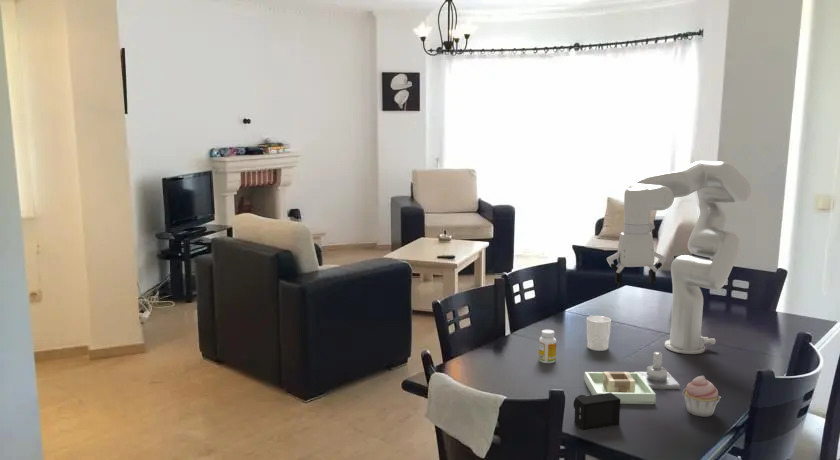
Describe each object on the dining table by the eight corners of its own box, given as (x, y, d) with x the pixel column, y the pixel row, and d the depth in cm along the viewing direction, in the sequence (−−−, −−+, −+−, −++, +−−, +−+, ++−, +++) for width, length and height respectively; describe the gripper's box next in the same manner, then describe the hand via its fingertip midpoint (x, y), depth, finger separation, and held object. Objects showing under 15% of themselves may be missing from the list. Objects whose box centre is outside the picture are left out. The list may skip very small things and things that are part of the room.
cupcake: (727, 418, 169) (730, 381, 168) (695, 421, 167) (697, 384, 166) (704, 403, 178) (707, 367, 177) (673, 406, 176) (676, 370, 175)
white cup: (610, 352, 218) (612, 323, 217) (586, 350, 220) (587, 321, 218) (608, 344, 226) (610, 316, 224) (585, 343, 227) (586, 315, 226)
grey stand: (667, 375, 198) (669, 347, 196) (679, 389, 188) (681, 359, 186) (634, 375, 198) (635, 347, 196) (644, 388, 188) (645, 359, 187)
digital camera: (607, 416, 171) (608, 390, 170) (619, 425, 166) (620, 398, 165) (571, 421, 168) (572, 395, 167) (582, 430, 163) (583, 403, 162)
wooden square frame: (602, 384, 189) (603, 371, 189) (627, 385, 189) (628, 371, 188) (610, 397, 181) (611, 383, 180) (636, 397, 181) (637, 383, 180)
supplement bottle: (556, 358, 212) (557, 329, 211) (554, 364, 207) (555, 334, 206) (540, 356, 214) (540, 328, 212) (537, 362, 209) (538, 333, 207)
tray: (637, 381, 193) (638, 372, 193) (655, 403, 178) (655, 394, 177) (584, 381, 194) (584, 371, 193) (596, 403, 178) (597, 393, 178)
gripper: (661, 225, 201) (659, 280, 204) (604, 227, 202) (603, 281, 205) (670, 230, 194) (668, 286, 197) (611, 232, 194) (609, 288, 197)
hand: (635, 284), depth 201 cm, fingers open, 9 cm apart
